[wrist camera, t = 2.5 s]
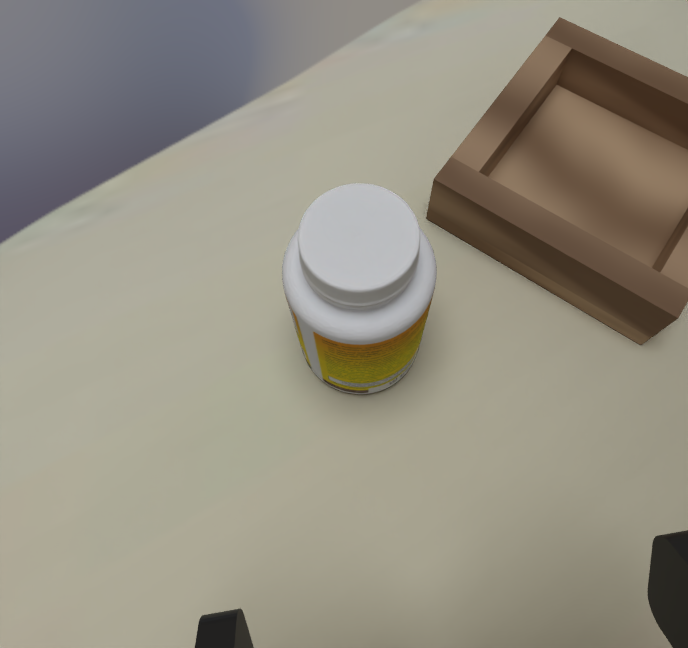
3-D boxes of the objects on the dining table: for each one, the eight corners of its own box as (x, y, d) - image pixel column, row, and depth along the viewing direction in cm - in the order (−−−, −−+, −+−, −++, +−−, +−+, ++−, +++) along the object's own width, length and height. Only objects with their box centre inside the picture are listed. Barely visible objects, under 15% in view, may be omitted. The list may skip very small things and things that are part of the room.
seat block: (540, 68, 34) (559, 17, 30) (742, 168, 31) (787, 123, 28) (426, 218, 30) (433, 179, 27) (640, 345, 28) (678, 318, 24)
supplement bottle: (442, 348, 28) (484, 244, 18) (351, 421, 27) (346, 352, 17) (367, 266, 30) (370, 133, 20) (278, 332, 28) (237, 224, 19)
